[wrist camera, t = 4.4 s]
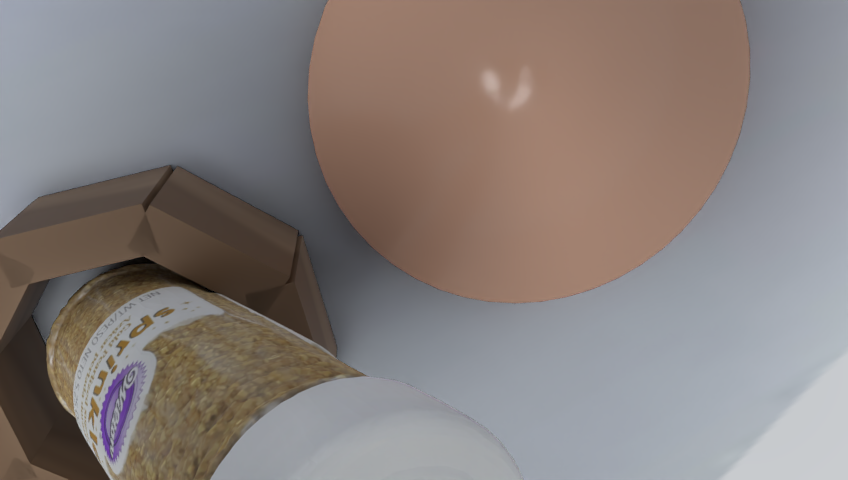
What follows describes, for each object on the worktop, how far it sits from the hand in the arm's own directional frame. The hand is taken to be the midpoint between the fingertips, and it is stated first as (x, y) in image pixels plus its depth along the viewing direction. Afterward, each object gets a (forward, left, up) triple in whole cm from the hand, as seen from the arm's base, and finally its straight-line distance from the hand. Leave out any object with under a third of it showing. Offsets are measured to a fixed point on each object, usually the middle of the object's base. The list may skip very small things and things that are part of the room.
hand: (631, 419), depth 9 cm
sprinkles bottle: (-4, +10, -12) cm, 16 cm away
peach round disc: (0, -2, -13) cm, 13 cm away
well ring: (-4, +9, -13) cm, 17 cm away
